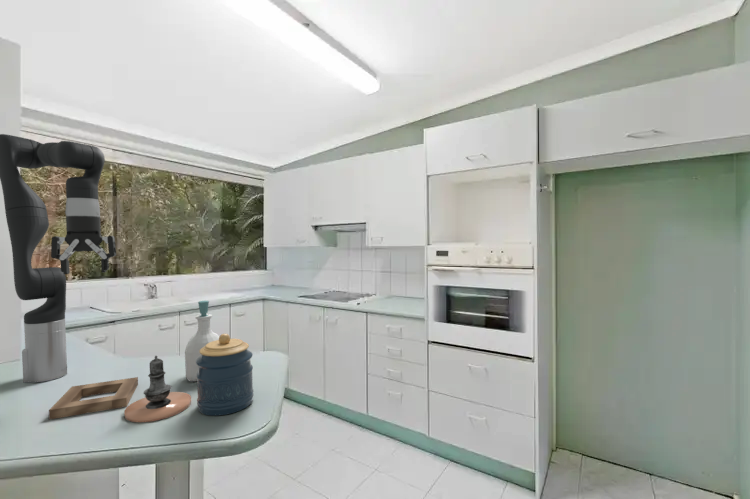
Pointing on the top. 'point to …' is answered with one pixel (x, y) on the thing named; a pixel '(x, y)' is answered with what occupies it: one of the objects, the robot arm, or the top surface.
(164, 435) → the top surface
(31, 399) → the top surface
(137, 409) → the saucer
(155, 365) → the salt shaker
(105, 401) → the wooden square frame
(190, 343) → the soap bottle
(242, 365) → the canister
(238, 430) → the top surface
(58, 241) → the robot arm
